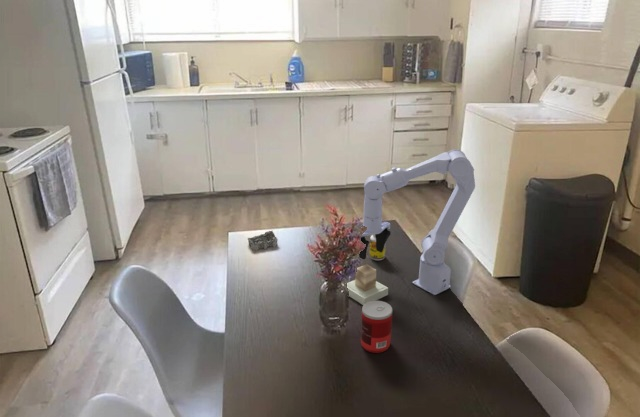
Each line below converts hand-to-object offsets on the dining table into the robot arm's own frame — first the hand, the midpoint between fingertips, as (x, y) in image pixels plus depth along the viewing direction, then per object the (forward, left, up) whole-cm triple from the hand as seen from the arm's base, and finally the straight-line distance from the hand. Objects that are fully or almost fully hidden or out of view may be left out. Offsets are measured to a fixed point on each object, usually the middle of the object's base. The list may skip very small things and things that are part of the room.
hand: (371, 254), depth 151 cm
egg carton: (+45, +13, -10) cm, 48 cm away
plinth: (-4, +6, -10) cm, 12 cm away
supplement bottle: (+11, -14, -10) cm, 20 cm away
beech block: (-4, +6, -7) cm, 11 cm away
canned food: (-24, +21, -10) cm, 34 cm away
